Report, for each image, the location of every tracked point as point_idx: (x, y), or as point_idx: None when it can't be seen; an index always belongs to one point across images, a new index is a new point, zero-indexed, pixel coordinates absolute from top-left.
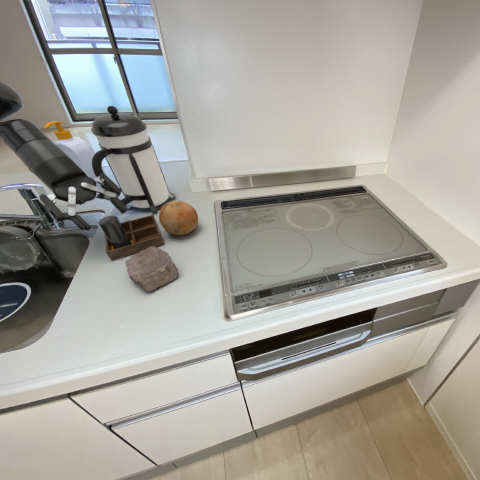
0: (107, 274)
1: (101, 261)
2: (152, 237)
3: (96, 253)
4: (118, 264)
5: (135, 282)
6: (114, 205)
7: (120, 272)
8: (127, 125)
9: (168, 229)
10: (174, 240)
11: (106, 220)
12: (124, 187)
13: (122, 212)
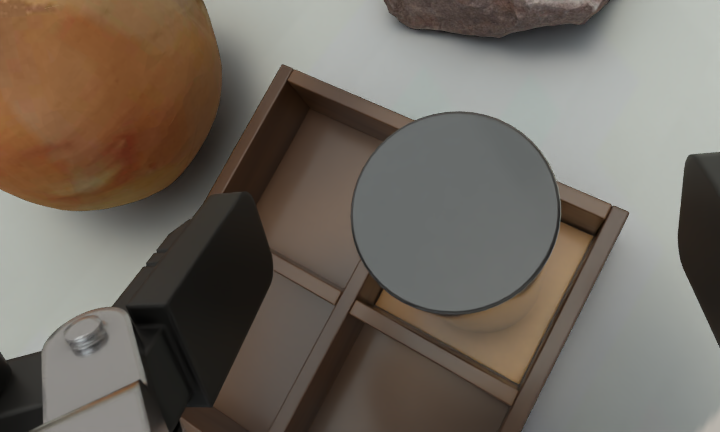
0: (710, 123)
1: (662, 296)
2: (296, 216)
3: (635, 429)
4: (604, 161)
5: None
6: (227, 353)
7: (642, 74)
8: None
9: (209, 35)
10: (249, 91)
11: (467, 218)
12: None
13: (264, 250)
